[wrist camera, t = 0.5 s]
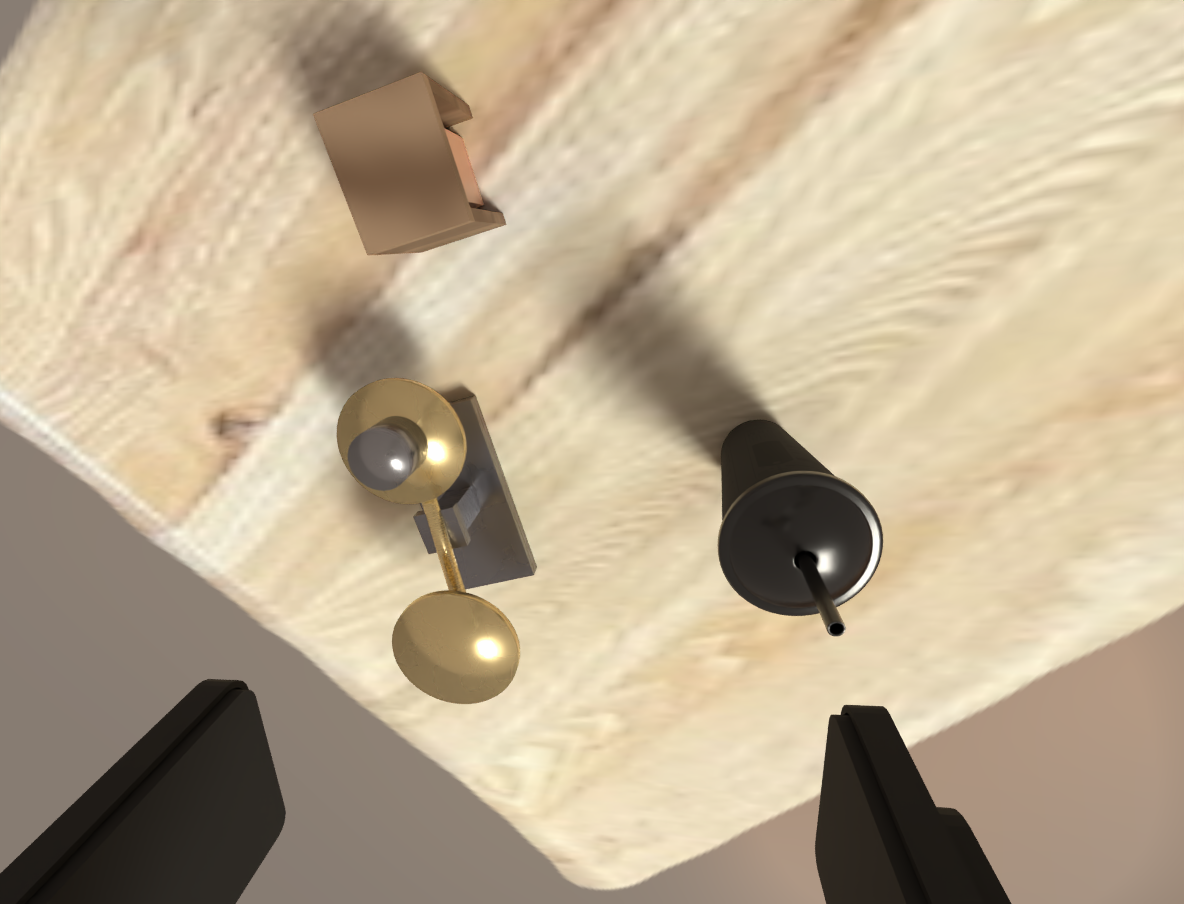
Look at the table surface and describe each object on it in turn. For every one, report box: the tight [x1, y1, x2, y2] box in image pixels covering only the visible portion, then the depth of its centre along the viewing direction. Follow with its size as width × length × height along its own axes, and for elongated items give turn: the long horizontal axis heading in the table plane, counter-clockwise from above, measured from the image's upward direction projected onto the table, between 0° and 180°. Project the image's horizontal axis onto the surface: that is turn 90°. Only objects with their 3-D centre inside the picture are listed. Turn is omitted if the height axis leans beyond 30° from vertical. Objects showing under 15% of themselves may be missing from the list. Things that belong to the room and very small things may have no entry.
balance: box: [337, 378, 537, 704], centre depth 40 cm, size 21×8×10 cm, turn 16°
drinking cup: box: [718, 420, 883, 636], centre depth 32 cm, size 8×8×20 cm
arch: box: [313, 72, 506, 255], centre depth 34 cm, size 7×6×8 cm
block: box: [444, 128, 484, 208], centre depth 35 cm, size 4×4×6 cm
